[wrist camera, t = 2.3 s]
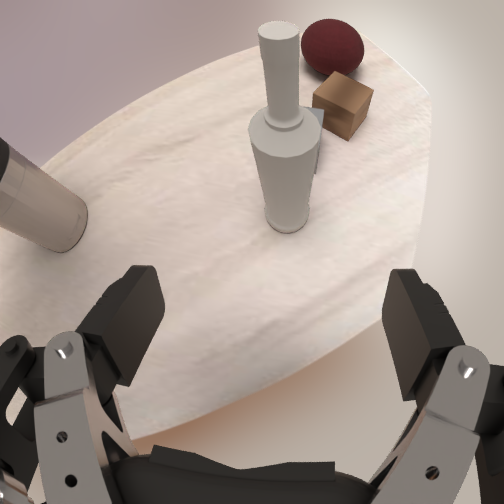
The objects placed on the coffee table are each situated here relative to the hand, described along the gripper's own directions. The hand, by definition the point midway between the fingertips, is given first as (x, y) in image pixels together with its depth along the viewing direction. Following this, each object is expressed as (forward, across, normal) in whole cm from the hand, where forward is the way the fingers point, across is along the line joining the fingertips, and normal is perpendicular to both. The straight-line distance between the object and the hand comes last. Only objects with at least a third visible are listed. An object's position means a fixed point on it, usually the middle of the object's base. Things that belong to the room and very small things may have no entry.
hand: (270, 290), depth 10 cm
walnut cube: (+36, -8, -3) cm, 37 cm away
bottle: (+26, 0, +8) cm, 27 cm away
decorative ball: (+44, -8, -11) cm, 47 cm away
